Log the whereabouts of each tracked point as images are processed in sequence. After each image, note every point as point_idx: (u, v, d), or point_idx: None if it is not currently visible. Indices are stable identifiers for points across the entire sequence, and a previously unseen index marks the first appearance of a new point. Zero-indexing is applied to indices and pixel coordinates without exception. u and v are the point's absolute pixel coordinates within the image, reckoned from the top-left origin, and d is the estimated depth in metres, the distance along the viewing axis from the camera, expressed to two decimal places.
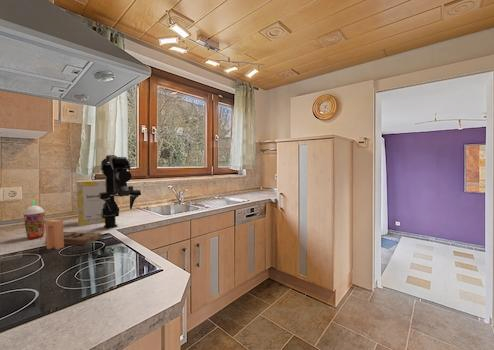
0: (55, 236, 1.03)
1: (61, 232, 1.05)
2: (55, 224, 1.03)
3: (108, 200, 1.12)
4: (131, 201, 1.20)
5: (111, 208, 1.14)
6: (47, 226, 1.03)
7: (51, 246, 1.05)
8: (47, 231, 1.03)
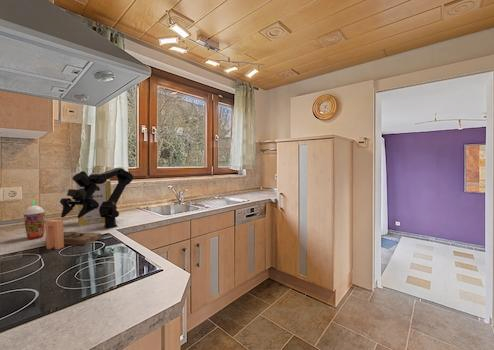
0: (55, 236, 1.03)
1: (61, 232, 1.05)
2: (55, 224, 1.03)
3: (63, 203, 1.16)
4: (81, 209, 1.14)
5: (62, 213, 1.14)
6: (47, 226, 1.03)
7: (51, 246, 1.05)
8: (47, 231, 1.03)
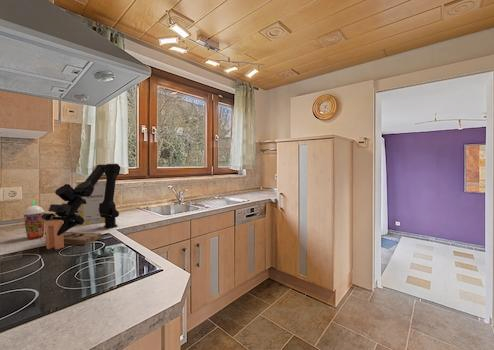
0: (55, 236, 1.03)
1: None
2: (55, 224, 1.03)
3: (48, 219, 1.06)
4: (62, 225, 1.05)
5: None
6: (47, 226, 1.03)
7: (51, 246, 1.05)
8: (47, 231, 1.03)
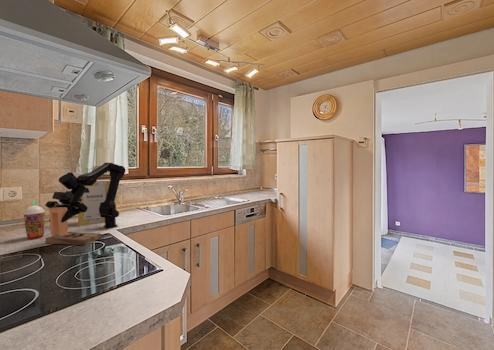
0: (59, 223, 1.05)
1: None
2: (59, 211, 1.05)
3: (52, 207, 1.08)
4: None
5: None
6: (51, 213, 1.05)
7: (55, 232, 1.07)
8: (51, 218, 1.05)
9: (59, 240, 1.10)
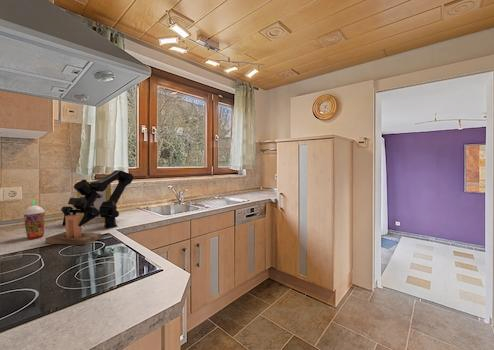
0: (74, 230, 1.13)
1: None
2: (74, 219, 1.13)
3: (64, 212, 1.16)
4: None
5: (64, 221, 1.14)
6: (67, 220, 1.13)
7: None
8: (67, 225, 1.13)
9: (59, 240, 1.10)
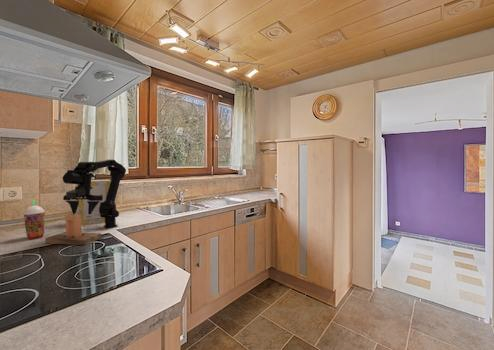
0: (74, 230, 1.13)
1: (79, 226, 1.15)
2: (74, 219, 1.13)
3: (68, 202, 1.18)
4: None
5: (72, 210, 1.19)
6: (67, 220, 1.13)
7: None
8: (67, 225, 1.13)
9: (59, 240, 1.10)
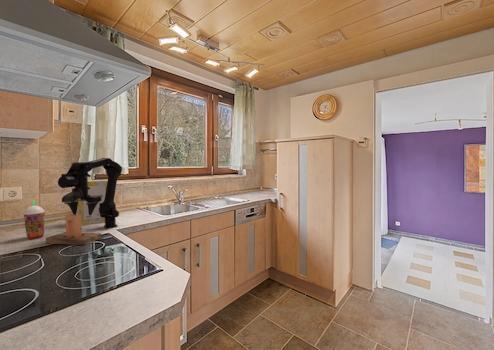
0: (74, 230, 1.13)
1: (79, 226, 1.15)
2: (74, 219, 1.13)
3: (67, 203, 1.17)
4: (88, 207, 1.17)
5: (73, 211, 1.19)
6: (67, 220, 1.13)
7: None
8: (67, 225, 1.13)
9: (59, 240, 1.10)
